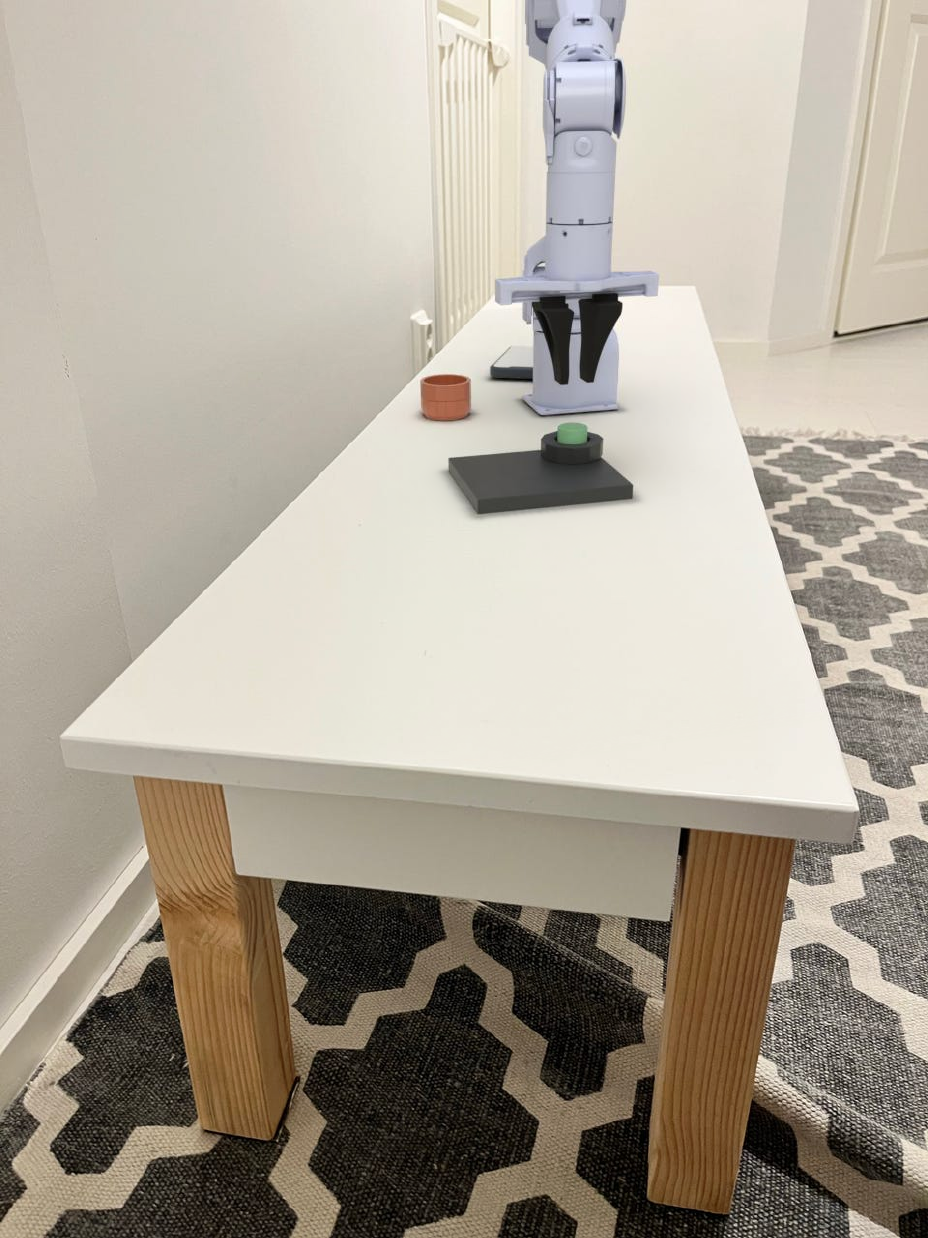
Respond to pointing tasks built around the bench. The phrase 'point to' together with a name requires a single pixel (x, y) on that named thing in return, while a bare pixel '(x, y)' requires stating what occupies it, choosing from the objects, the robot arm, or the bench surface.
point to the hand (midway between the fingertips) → (574, 381)
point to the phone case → (514, 363)
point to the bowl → (445, 396)
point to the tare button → (572, 433)
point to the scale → (540, 477)
